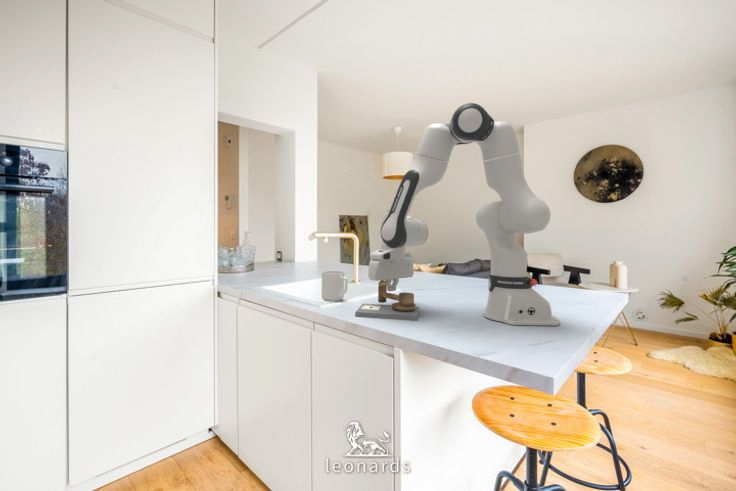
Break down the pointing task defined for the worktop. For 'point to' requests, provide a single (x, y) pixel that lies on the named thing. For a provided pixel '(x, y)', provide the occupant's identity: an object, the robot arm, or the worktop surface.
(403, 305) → the brown wooden piece
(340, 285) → the mug
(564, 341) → the worktop surface
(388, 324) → the worktop surface
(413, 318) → the stand
